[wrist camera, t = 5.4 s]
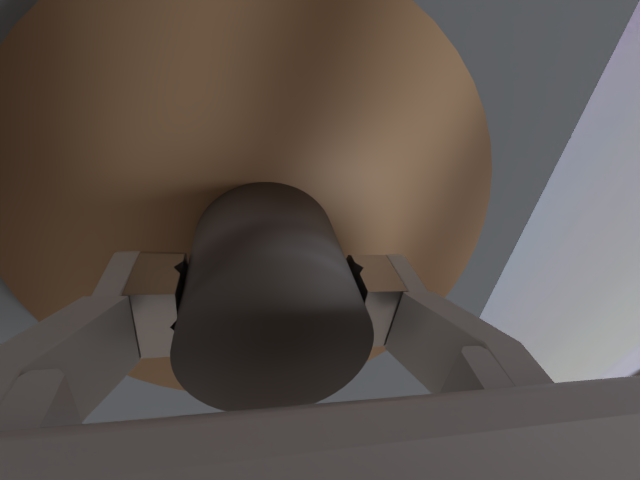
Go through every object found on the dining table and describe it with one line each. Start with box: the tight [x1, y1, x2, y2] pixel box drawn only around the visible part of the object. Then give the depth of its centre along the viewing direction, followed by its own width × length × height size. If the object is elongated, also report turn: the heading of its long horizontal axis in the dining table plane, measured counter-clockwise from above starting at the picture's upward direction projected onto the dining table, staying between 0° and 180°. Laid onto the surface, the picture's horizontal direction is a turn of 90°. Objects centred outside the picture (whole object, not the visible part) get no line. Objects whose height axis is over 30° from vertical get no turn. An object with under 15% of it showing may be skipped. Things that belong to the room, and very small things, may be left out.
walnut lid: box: [0, 0, 492, 411], centre depth 9 cm, size 14×14×5 cm
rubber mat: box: [0, 0, 639, 424], centre depth 12 cm, size 20×20×1 cm
